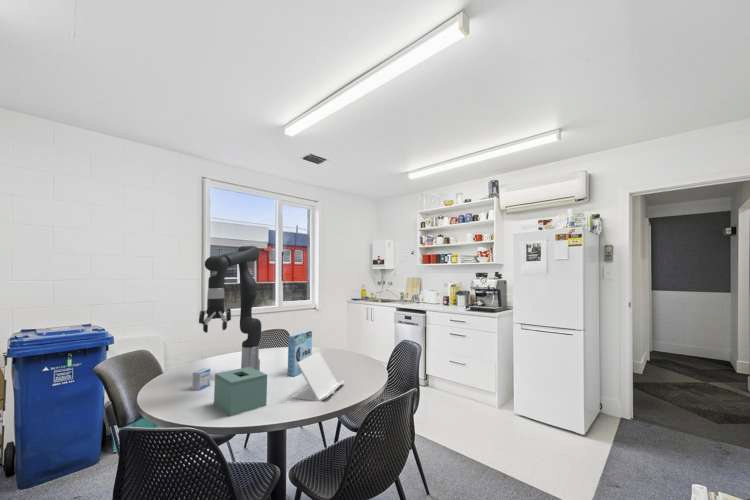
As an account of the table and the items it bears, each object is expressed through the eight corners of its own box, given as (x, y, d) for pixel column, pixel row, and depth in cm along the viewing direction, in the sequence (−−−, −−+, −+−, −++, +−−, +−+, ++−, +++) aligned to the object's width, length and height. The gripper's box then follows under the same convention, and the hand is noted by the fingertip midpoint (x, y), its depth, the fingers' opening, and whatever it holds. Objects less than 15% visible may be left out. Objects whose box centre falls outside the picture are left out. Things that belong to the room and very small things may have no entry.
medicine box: (199, 390, 168) (200, 372, 169) (191, 389, 169) (192, 372, 170) (210, 385, 176) (210, 368, 176) (202, 384, 177) (203, 368, 177)
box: (248, 395, 162) (249, 366, 163) (266, 405, 149) (267, 374, 150) (213, 404, 150) (215, 373, 151) (230, 416, 138) (231, 382, 139)
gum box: (294, 376, 191) (295, 336, 193) (286, 375, 193) (287, 335, 195) (311, 368, 210) (312, 331, 211) (304, 367, 211) (305, 330, 213)
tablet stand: (291, 398, 158) (292, 362, 159) (313, 382, 182) (314, 350, 184) (327, 402, 154) (327, 364, 155) (344, 385, 178) (345, 352, 179)
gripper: (227, 296, 170) (226, 328, 169) (197, 298, 159) (196, 332, 158) (233, 297, 165) (233, 330, 164) (203, 298, 154) (202, 334, 153)
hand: (215, 331), depth 161 cm, fingers open, 8 cm apart
